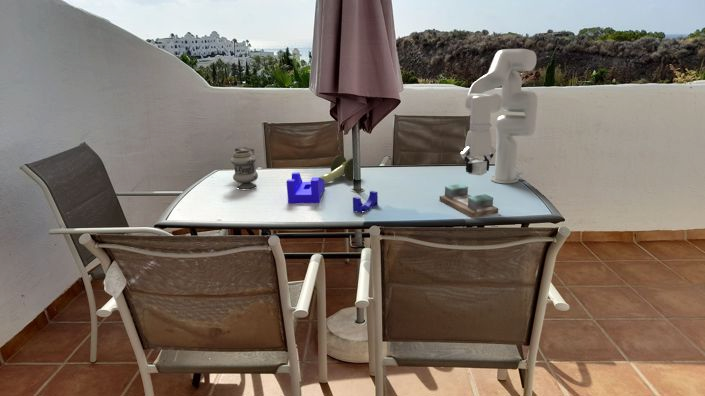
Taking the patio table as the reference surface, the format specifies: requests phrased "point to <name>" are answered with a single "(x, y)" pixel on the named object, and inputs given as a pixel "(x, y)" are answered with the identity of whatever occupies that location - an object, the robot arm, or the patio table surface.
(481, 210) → the board
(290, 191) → the bracket
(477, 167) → the small box
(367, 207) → the blue u-shaped piece
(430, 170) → the patio table surface
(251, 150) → the grey brown jug
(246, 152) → the apothecary jar
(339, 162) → the cannon
